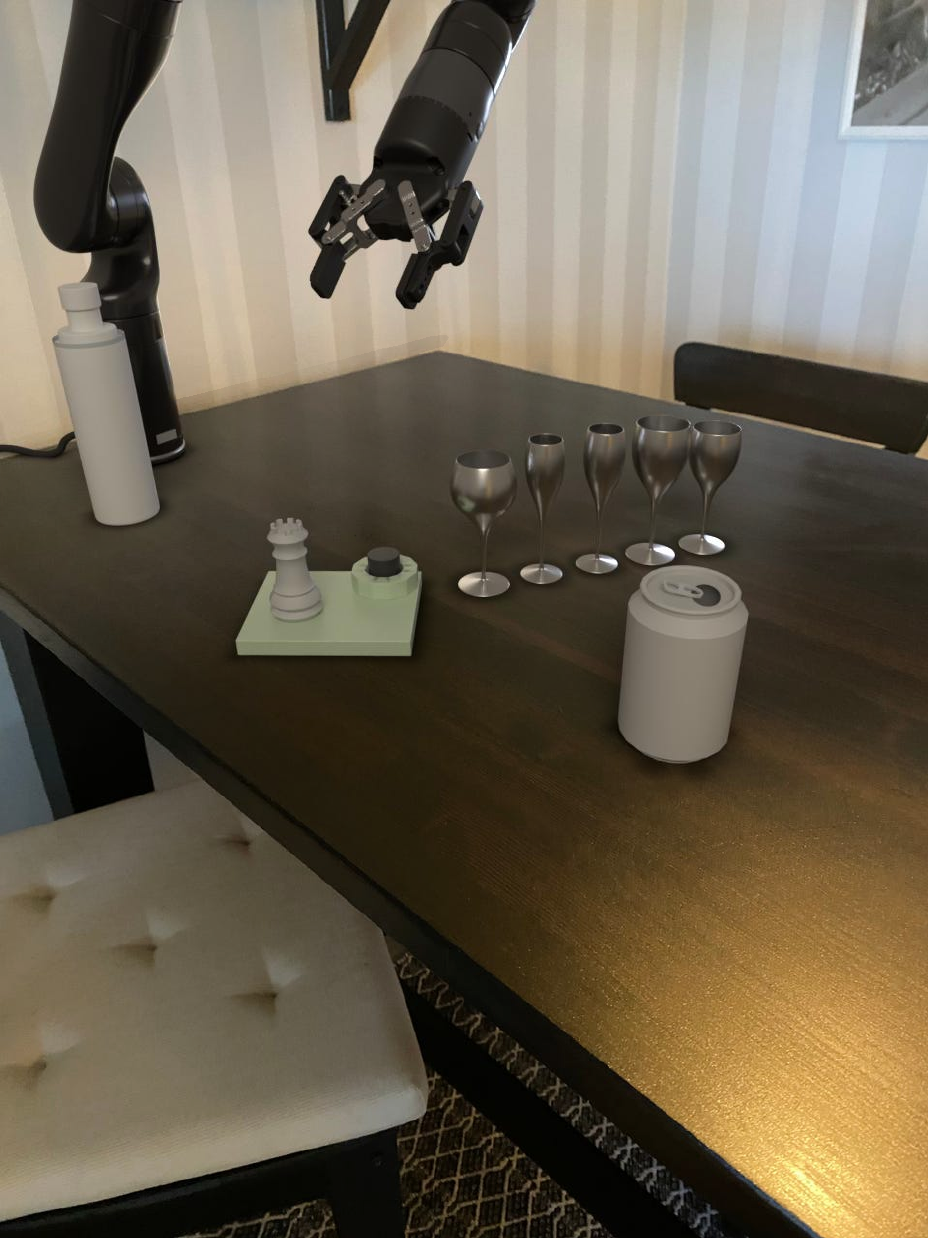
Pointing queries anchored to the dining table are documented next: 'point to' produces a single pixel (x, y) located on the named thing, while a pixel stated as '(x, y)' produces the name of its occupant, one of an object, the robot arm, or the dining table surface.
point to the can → (681, 663)
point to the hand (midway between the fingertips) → (360, 297)
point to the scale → (341, 616)
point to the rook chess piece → (292, 575)
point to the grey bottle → (104, 410)
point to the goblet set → (596, 486)
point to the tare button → (384, 562)
